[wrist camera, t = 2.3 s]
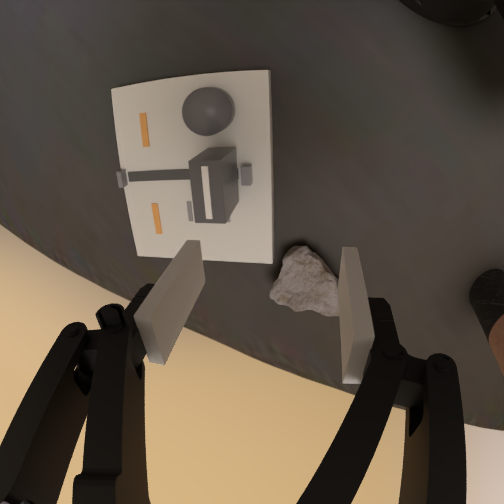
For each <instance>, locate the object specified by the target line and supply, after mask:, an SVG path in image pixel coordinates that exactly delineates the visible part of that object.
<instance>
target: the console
mask: <svg viewBox="0 0 504 504" xmlns="http://www.w3.org/2000/svg"><path fill="white" fill-rule="evenodd" d="M111 92H112V103H113V113H114V121H115V130H116V138H117V145H118V152H119V159H120V166H121V170H119V171H117V172H116V173H117V179H118V185H119V188H124V190H125V195H126V201H127V206H128V211H129V216H130V221H131V226H132V231H133V236H134V240H135V245H136V249H137V254H138V256H148V257H164V258H174V257H175V256H176V254H177V253H178V252H179V250H180V249H181V247H182V246H183V245H184V243H185V242H186V241H187V240H200V244H201V252H202V260H214V261H232V262H250V263H268V264H273V259H274V179H273V132H272V97H271V71H270V70H250V71H233V72H219V73H208V74H199V75H190V76H182V77H175V78H168V79H162V80H155V81H149V82H144V83H138V84H133V85H128V86H123V87H119V88H114V89H111ZM215 147H236V155H237V173H238V191H239V202H238V204H237V205H236V207H235V209H234V211H233V212H232V214H231V216H230V217H229V219H228V221H227V223H226V224H216V223H195V218H194V210H193V201H192V192H191V183H190V174H189V164H188V161H189V160H191V159H192V158H194V157H195V156H197V155H198V154H199V153H201V152H202V151H204V150H205V149H207V148H215Z"/></svg>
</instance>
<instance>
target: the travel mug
mask: <svg viewBox="0 0 504 504" xmlns="http://www.w3.org/2000/svg"><path fill="white" fill-rule="evenodd" d="M470 302H471V304H472V307H473V309H474V311H475V313H476V315H477V317H478V320H479V322H480V324H481V326H482V328H483V331H484V333H485V335H486V338H487V340H488V342H489V344H490V347H491V349H492V351H493V353H494V355H495V357H496V360H497V362H498V364H499V366H500V369H501V371H502V373H503V376H504V272H503V271H501V270H498V269H494V270H490V271H487V272H485V273H484V274H482V275H481V276H480V277H479V278H478V279H477V280H476V281H475V283H474V284H473V286H472V288H471V291H470Z"/></svg>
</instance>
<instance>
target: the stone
mask: <svg viewBox="0 0 504 504" xmlns="http://www.w3.org/2000/svg"><path fill="white" fill-rule="evenodd" d="M338 282H339V279H338V278H337V277H335V276H334V274H333V273H332V272H331V271H330V269H329V267H328V266H327V265H326V264H325V262H324V261H323V259H322V258H320V256H319V255H317V254H316V253H315V252H312V251H311V250H310V249H309V248H308V247H307V246H306V245H305V246H294V247H292V248H291V249H290V250H289V251H288V252H287V253H286V254H285V255H284V257H283V266H282V268H281V272H280V274H279V278H278V279H277V280H276V281H275V282H274V284H273V285H272V289H271V291H270V296H269V297H270V298H271V299H273V300H275V302H276V303H277V304H279V305H287V306H289V307H290V308H292V309H293V310H294V311H297V312H298V311H304V310H307V309H308V310H314V311H316V312H319V313H320V314H322V315H324V316H339V303H338Z"/></svg>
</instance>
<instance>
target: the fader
mask: <svg viewBox="0 0 504 504" xmlns="http://www.w3.org/2000/svg"><path fill="white" fill-rule="evenodd" d="M188 164H189V174H190V183H191V192H192V201H193V210H194V218H195V223H216V224H226V223H227V221H228V219H229V217H230V216H231V214H232V212H233V211H234V209H235V207H236V205H237V204H238V202H239V191H238V173H237V155H236V147H215V148H207V149H205V150H204V151H202V152H201V153H199V154H198V155H197V156H195V157H194V158H192V159H191V160H189V161H188Z"/></svg>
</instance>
